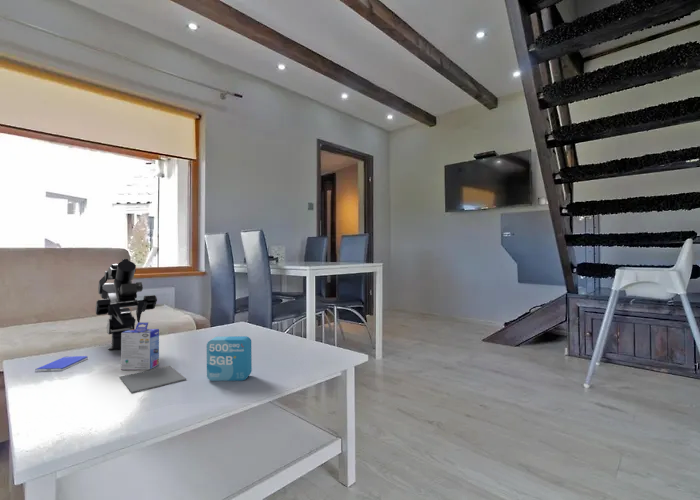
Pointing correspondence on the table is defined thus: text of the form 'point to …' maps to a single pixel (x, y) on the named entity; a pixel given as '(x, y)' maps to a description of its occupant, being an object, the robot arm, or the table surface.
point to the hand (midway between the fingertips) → (131, 322)
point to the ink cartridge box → (140, 348)
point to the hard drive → (62, 363)
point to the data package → (229, 358)
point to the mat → (151, 379)
